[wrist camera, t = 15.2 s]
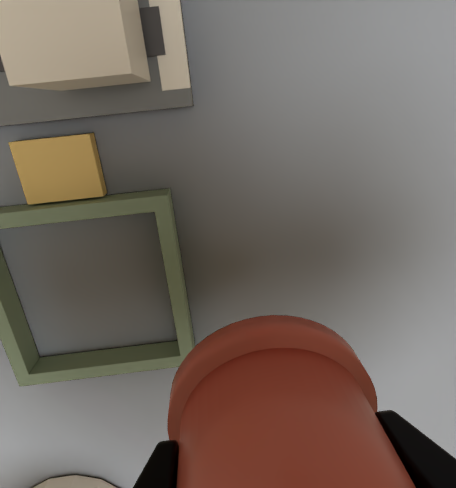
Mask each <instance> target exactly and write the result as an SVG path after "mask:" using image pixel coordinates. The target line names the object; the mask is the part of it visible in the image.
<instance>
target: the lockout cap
mask: <svg viewBox="0 0 456 488" xmlns="http://www.w3.org/2000/svg"><path fill="white" fill-rule="evenodd" d="M375 412H377V396H376V392H375V388H374V386H373V383H372V381H371V379H370V377H369V375H368V374H367V372H366V370H365V369H364V367H363V365H362V364H361V362H360V360H359V359H358V357H357V355H356V354H355V352H354V351H353V349H352V348H351V346H350V345H349V344H348V343H347V342H346V341H345V340H344V339H343V338H342V337H341V336H339V335H338V334H337V333H336V332H334V331H333V330H331V329H329V328H327V327H326V326H324V325H322V324H319V323H317V322H314V321H311V320H308V319H304V318H300V317H293V316H283V315H270V316H260V317H254V318H249V319H245V320H242V321H239V322H235V323H232V324H230V325H228V326H226V327H223V328H221V329H219V330H217V331H216V332H214V333H212V334H211V335H209V336H207V337H206V338H205V339H204V340H202V341H201V342H200V343H199V344H197V345H196V346H195V347H194V348H193V349H192V350H191V351H190V352H189V353H188V355H187V356H186V357H185V359H184V360H183V362H182V363H181V365H180V367H179V368H178V370H177V372H176V375H175V377H174V380H173V383H172V388H171V394H170V403H169V413H168V435H169V440H176V441H177V442H178V445H179V455H178V470H177V485H176V488H416V487H415V485H414V483H413V481H412V480H411V478H410V476H409V474H408V472H407V471H406V469H405V467H404V465H403V463H402V462H401V460H400V458H399V456H398V454H397V453H396V451H395V449H394V447H393V445H392V444H391V442H390V440H389V438H388V436H387V435H386V433H385V431H384V429H383V427H382V426H381V424H380V422H379V420H378V418H377V417H376V415H375Z"/></svg>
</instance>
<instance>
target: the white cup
mask: <svg viewBox="0 0 456 488" xmlns="http://www.w3.org/2000/svg"><path fill="white" fill-rule="evenodd" d="M33 488H117V487H115V486H113V485H111V484H109V483H108V482H106V481H104V480H102V479H97V478H91V477H85V476H79V475H71V476H63V477H57V478H50V479H48V480H46V481H44V482H42V483H40V484H39V485H37V486H35V487H33Z"/></svg>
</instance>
